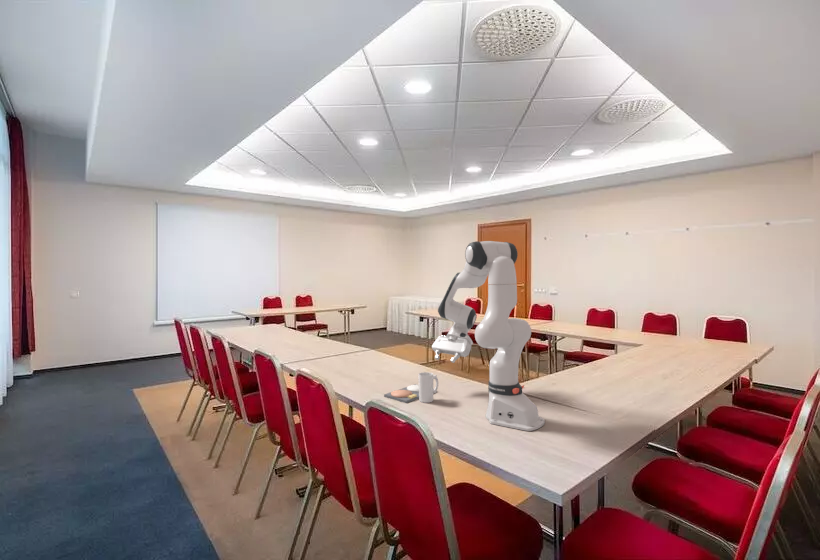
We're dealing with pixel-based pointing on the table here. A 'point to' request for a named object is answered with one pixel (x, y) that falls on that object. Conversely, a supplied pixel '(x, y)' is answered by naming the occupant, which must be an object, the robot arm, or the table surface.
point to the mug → (427, 386)
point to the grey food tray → (405, 394)
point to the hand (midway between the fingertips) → (444, 360)
